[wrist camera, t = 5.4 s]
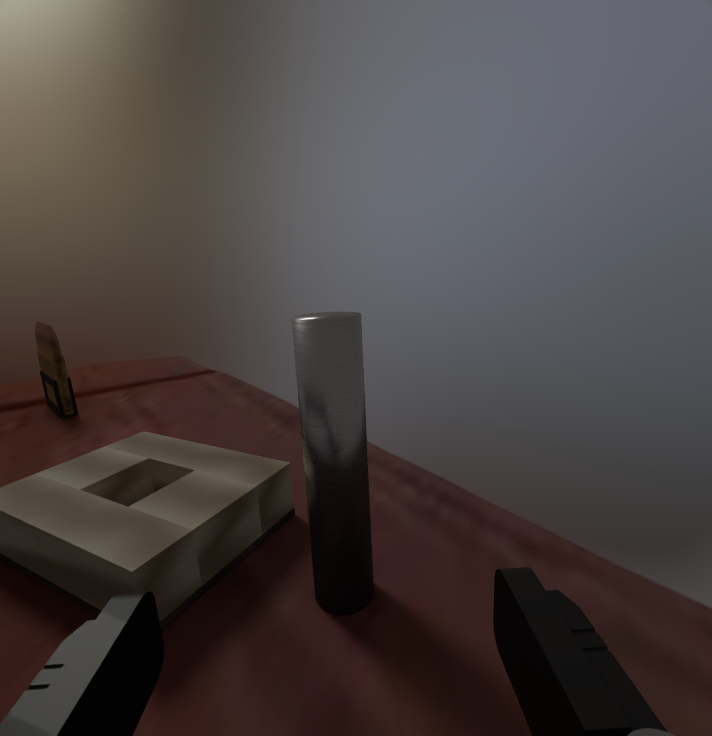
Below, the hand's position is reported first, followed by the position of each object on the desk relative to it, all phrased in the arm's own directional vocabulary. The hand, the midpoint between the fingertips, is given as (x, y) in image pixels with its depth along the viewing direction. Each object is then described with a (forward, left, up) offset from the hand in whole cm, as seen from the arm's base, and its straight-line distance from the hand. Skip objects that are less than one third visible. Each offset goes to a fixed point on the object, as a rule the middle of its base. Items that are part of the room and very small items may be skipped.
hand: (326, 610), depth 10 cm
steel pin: (+10, +6, -9) cm, 15 cm away
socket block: (+9, +21, -9) cm, 24 cm away
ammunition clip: (+23, +59, -10) cm, 64 cm away
